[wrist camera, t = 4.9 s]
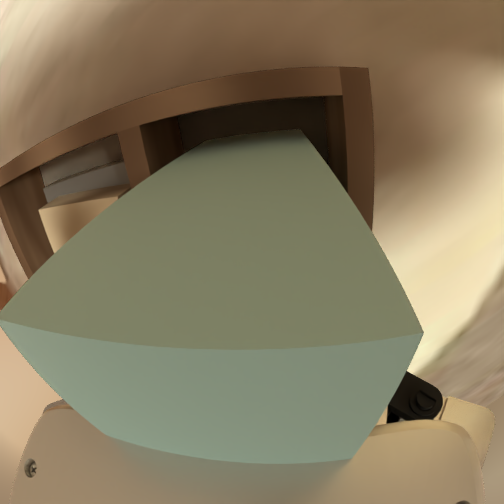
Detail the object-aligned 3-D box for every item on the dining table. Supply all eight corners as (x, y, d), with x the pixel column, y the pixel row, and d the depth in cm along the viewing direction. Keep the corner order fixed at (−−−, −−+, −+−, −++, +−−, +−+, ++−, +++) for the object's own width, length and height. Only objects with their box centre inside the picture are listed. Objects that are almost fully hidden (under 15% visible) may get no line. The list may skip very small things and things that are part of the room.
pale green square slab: (300, 128, 12) (422, 332, 1) (309, 318, 18) (316, 500, 8) (206, 140, 12) (-5, 318, 2) (243, 321, 18) (215, 496, 8)
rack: (341, 76, 10) (367, 67, 7) (339, 339, 19) (346, 384, 15) (28, 157, 13) (-13, 177, 10) (107, 337, 22) (90, 369, 18)
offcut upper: (137, 182, 12) (117, 196, 11) (178, 326, 18) (170, 349, 16) (58, 196, 13) (38, 209, 11) (108, 319, 18) (97, 338, 17)
